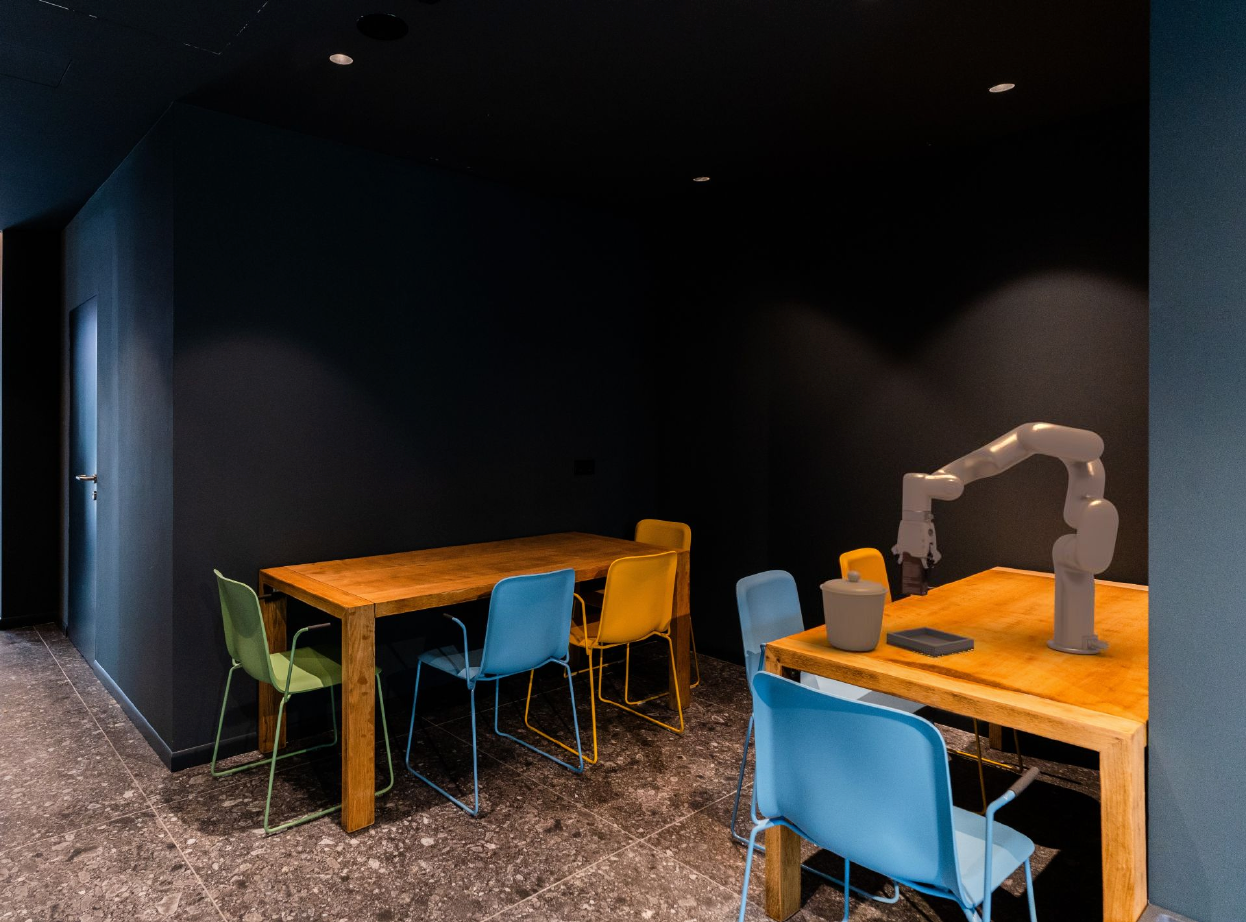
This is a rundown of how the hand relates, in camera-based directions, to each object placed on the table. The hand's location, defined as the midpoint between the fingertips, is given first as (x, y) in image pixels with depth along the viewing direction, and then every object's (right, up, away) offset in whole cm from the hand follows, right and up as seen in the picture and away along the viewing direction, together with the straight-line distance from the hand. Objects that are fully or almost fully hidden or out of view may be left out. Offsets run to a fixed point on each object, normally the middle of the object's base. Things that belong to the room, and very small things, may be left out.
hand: (915, 579), depth 213 cm
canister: (-19, -18, -5) cm, 27 cm away
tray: (+2, -18, -4) cm, 19 cm away
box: (0, -5, 0) cm, 5 cm away
